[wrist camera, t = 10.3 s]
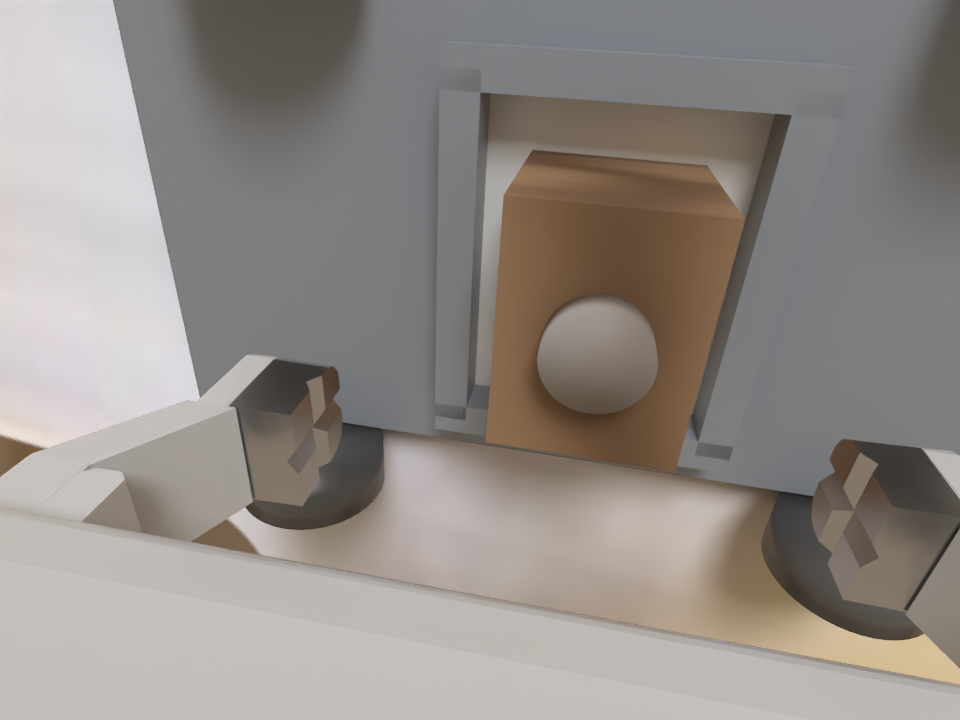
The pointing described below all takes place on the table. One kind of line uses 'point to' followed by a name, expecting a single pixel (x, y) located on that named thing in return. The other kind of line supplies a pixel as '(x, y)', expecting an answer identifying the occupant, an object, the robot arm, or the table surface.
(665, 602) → the table surface
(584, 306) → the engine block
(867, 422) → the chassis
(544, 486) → the table surface
